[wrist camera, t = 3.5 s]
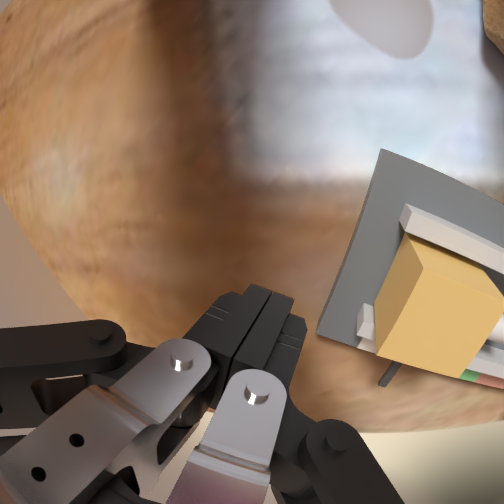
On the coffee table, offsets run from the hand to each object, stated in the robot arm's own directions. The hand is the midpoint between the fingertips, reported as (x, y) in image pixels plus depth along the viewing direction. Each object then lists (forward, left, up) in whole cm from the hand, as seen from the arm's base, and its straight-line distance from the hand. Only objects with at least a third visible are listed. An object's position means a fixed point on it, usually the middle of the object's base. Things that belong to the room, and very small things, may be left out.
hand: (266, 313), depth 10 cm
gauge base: (+15, 0, -9) cm, 17 cm away
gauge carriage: (+10, -2, -7) cm, 12 cm away
